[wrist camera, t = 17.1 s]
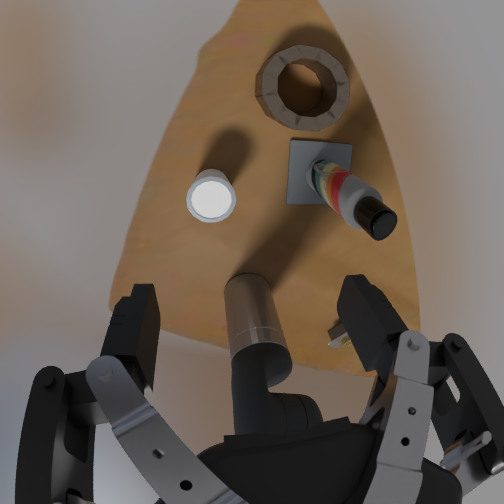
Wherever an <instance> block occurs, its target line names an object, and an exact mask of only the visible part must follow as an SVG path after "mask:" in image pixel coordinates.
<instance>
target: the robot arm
mask: <svg viewBox="0 0 504 504" xmlns="http://www.w3.org/2000/svg"><path fill="white" fill-rule="evenodd" d="M224 299H225V311H226V321H227V331H228V341H229V349H230V358H231V366H232V382H231V384H232V385H231V387H232V398H233V416H234V430H235V435H225V436H224V442H223V443H219V444H216V445H214V446H212V447H209V448H208V449H206V450H204V451H202V452H201V453H200V454H198V455H197V456H195V455H194V454H193V452H192V451H191V450H190V449H189V448H188V447H187V446H186V445H185V444H184V443H183V442H182V440H181V439H180V438H179V437H178V436H177V435H176V434H175V432H174V431H173V430H172V429H171V428H170V426H169V425H168V424H167V423H166V422H165V420H164V419H163V418H162V417H161V415H160V414H159V413H158V412H157V411H156V409H155V408H154V407H153V406H151V405H150V403H149V402H148V401H147V399H146V398H145V397H144V392H153V381H154V372H155V363H156V354H157V346H158V339H159V331H160V311H159V307H158V302H157V298H156V293H155V288H154V285H153V284H134V286H133V289H132V293H131V296H130V297H122V298H121V299H120V301H119V302H118V303H117V304H116V305H115V308H114V311H113V314H112V317H111V320H110V325H109V327H108V330H107V333H106V336H105V340H104V343H103V347H102V350H101V354H100V357H98V358H96V359H94V360H93V361H92V362H91V363H90V364H89V365H88V367H87V369H86V370H84V371H80V372H74V373H69V374H64V373H63V372H62V370H61V369H60V368H58V367H55V366H47V367H45V368H42V369H41V370H40V371H39V372H38V373H37V374H36V376H35V378H34V381H33V384H32V388H31V392H30V395H29V399H28V404H27V408H26V412H25V417H24V422H23V427H22V432H21V438H20V445H19V452H18V460H17V470H16V483H15V504H96V503H94V501H93V461H94V441H95V428H96V425H98V424H103V423H108V422H109V423H110V424H111V426H112V431H113V433H114V435H115V437H116V438H117V440H118V442H119V443H120V445H121V446H122V448H123V449H124V451H125V452H126V453H127V455H128V457H129V458H130V459H131V461H132V462H133V463H134V465H135V466H136V468H137V469H138V470H139V472H140V473H141V474H142V476H143V477H144V478H145V479H146V481H147V482H148V483H149V484H150V485H151V487H152V488H153V489H154V490H155V492H156V493H157V494H158V495H159V496H160V498H159V499H158V501H157V502H156V503H155V504H462V497H463V496H464V495H466V494H467V493H469V492H470V491H472V490H473V489H474V488H476V487H477V486H478V485H480V484H481V483H482V482H483V481H485V480H487V479H489V478H491V477H493V476H494V475H496V474H498V473H500V472H501V471H503V470H504V406H503V404H502V402H501V400H500V398H499V396H498V395H497V392H496V391H495V389H494V387H493V385H492V383H491V381H490V380H489V378H488V376H487V375H486V373H485V371H484V369H483V368H482V366H481V364H480V363H479V361H478V359H477V358H476V356H475V355H474V353H473V351H472V350H471V349H470V347H469V345H468V344H467V342H466V341H465V340H464V338H462V337H461V336H460V335H458V334H454V333H449V334H447V335H446V336H445V338H444V339H443V340H442V342H431V341H428V340H427V339H426V337H425V336H424V335H422V334H421V333H419V332H417V331H414V330H409V329H408V328H407V326H406V325H405V323H404V322H403V321H402V319H401V318H400V316H399V315H398V313H397V312H396V310H395V309H394V308H393V307H392V305H391V303H390V302H389V301H388V299H387V298H386V296H385V295H384V293H383V292H382V291H381V290H380V289H378V288H377V287H376V286H374V285H371V284H370V283H369V281H368V280H367V278H366V277H365V276H364V275H363V274H359V275H347V276H346V277H345V279H344V282H343V285H342V289H341V292H340V295H339V298H338V302H337V312H338V315H339V318H340V320H341V321H342V323H343V325H344V327H345V329H346V331H347V333H348V336H349V338H350V340H351V342H352V344H353V346H354V348H355V350H356V352H357V354H358V356H359V358H360V360H361V362H362V364H363V367H364V369H365V371H366V372H368V371H372V370H376V371H377V375H376V376H375V380H374V383H373V387H372V390H371V393H370V397H369V400H368V403H367V406H366V409H365V412H364V414H363V416H362V418H361V419H360V421H359V423H358V424H357V423H350V421H349V418H348V417H347V416H346V417H343V418H339V419H334V420H331V421H326V422H323V418H322V415H321V412H320V410H319V407H318V406H317V404H316V402H315V401H314V400H313V399H312V398H310V397H309V396H306V395H302V394H286V393H270V392H269V391H268V388H269V387H272V386H274V385H277V384H279V383H280V382H282V381H283V380H285V379H286V378H287V377H288V376H289V374H290V373H291V371H292V360H291V356H290V353H289V350H288V347H287V343H286V340H285V337H284V334H283V330H282V327H281V324H280V320H279V317H278V314H277V310H276V307H275V304H274V300H273V297H272V294H271V290H270V287H269V284H268V282H267V281H266V280H265V279H264V278H263V277H261V276H259V275H256V274H242V275H238V276H236V277H234V278H233V279H231V280H230V281H229V282H228V283H227V285H226V287H225V289H224ZM450 376H452V378H453V380H454V382H455V384H456V386H457V388H458V389H459V391H460V399H459V401H458V402H456V400H455V398H454V396H453V394H452V392H451V390H450V388H449V386H448V384H447V382H446V380H447V379H448V378H449V377H450ZM430 419H431V420H432V423H433V425H434V427H435V430H436V432H437V435H438V438H439V440H440V443H441V445H442V448H443V451H444V457H443V459H442V460H441V462H440V466H439V465H437V464H435V463H433V462H431V461H429V460H428V459H426V458H424V457H423V456H424V451H425V447H426V442H427V436H428V431H429V425H430Z"/></svg>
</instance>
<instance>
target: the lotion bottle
mask: <svg viewBox="0 0 504 504" xmlns="http://www.w3.org/2000/svg"><path fill="white" fill-rule="evenodd" d="M306 179H307V182H308V184H309V186H310V187H311V188H312V189H313V190H314V191H315V192H316V193H317V194H318V195H319V196H320V197H321V198H322V199H323V200H324V201H325V202H326V203H327V204H328V205H329V206H330V207H331V208H332V209H333V210H334V211H335V212H336V213H337V214H338V215H339V216H340V217H341V218H342V219H343V220H344V221H345V222H346V223H347V224H348V225H350V226H351V227H353V228H355V229H364V230H365V231H366V232H367V233H368V234H369V235H370V236H371V237H372V238H373V239H374V240H377V241H380V240H383V239H385V238H386V237H388V236H389V235H390V234H391V233H392V231H393V230H394V228H395V227H396V224H397V215H396V214H395V212H394V211H392V210H391V209H390V208H389V207H387V206H386V205H385V204H383V200H382V197H381V195H380V193H379V192H378V191H377V190H376V189H375V188H373V187H372V186H370V185H369V184H367V183H366V182H364V181H363V180H361V179H360V178H358V177H356V176H355V175H353V174H352V173H350V172H348V171H347V170H345V169H343V168H342V167H340V166H338V165H337V164H335V163H333V162H331V161H329V160H326V159H319V160H316V161H314V162H313V163H311V164H310V166H309V167H308V169H307V172H306Z"/></svg>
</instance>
